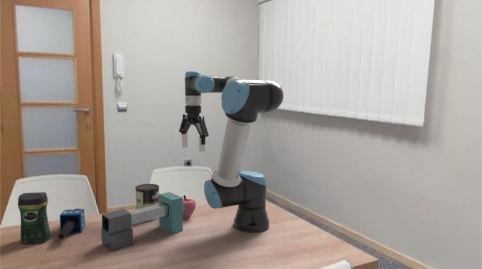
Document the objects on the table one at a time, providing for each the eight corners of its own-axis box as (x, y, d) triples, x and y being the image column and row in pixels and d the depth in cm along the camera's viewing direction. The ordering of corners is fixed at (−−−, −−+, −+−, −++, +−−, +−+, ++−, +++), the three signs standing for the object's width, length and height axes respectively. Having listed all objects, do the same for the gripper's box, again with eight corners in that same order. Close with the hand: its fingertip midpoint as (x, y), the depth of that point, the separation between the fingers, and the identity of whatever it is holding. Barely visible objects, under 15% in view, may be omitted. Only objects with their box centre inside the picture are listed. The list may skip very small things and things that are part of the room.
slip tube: (173, 213, 149) (173, 204, 148) (122, 227, 134) (122, 216, 133) (168, 211, 152) (167, 201, 151) (117, 224, 137) (117, 213, 136)
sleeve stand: (133, 244, 136) (132, 213, 134) (111, 251, 130) (110, 219, 128) (123, 238, 141) (122, 208, 140) (101, 244, 135) (100, 213, 134)
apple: (170, 218, 162) (170, 196, 161) (183, 212, 170) (183, 192, 168) (187, 223, 158) (187, 200, 156) (199, 217, 165) (199, 195, 163)
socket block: (182, 230, 150) (182, 197, 148) (172, 233, 146) (172, 200, 144) (169, 223, 157) (169, 191, 155) (159, 226, 153) (158, 194, 151)
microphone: (49, 226, 132) (68, 204, 156) (50, 247, 133) (69, 221, 157) (72, 225, 133) (88, 203, 157) (73, 245, 134) (88, 220, 158)
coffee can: (163, 214, 168) (162, 184, 166) (153, 222, 158) (153, 190, 156) (142, 212, 170) (142, 182, 168) (131, 220, 160) (130, 188, 158)
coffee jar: (52, 235, 143) (50, 189, 140) (45, 243, 135) (43, 195, 133) (26, 236, 141) (22, 190, 139) (17, 245, 133) (13, 196, 131)
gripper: (171, 103, 177) (172, 146, 180) (203, 106, 159) (203, 154, 162) (184, 103, 182) (184, 145, 185) (216, 106, 164) (216, 152, 167)
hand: (193, 149), depth 174 cm, fingers open, 13 cm apart
